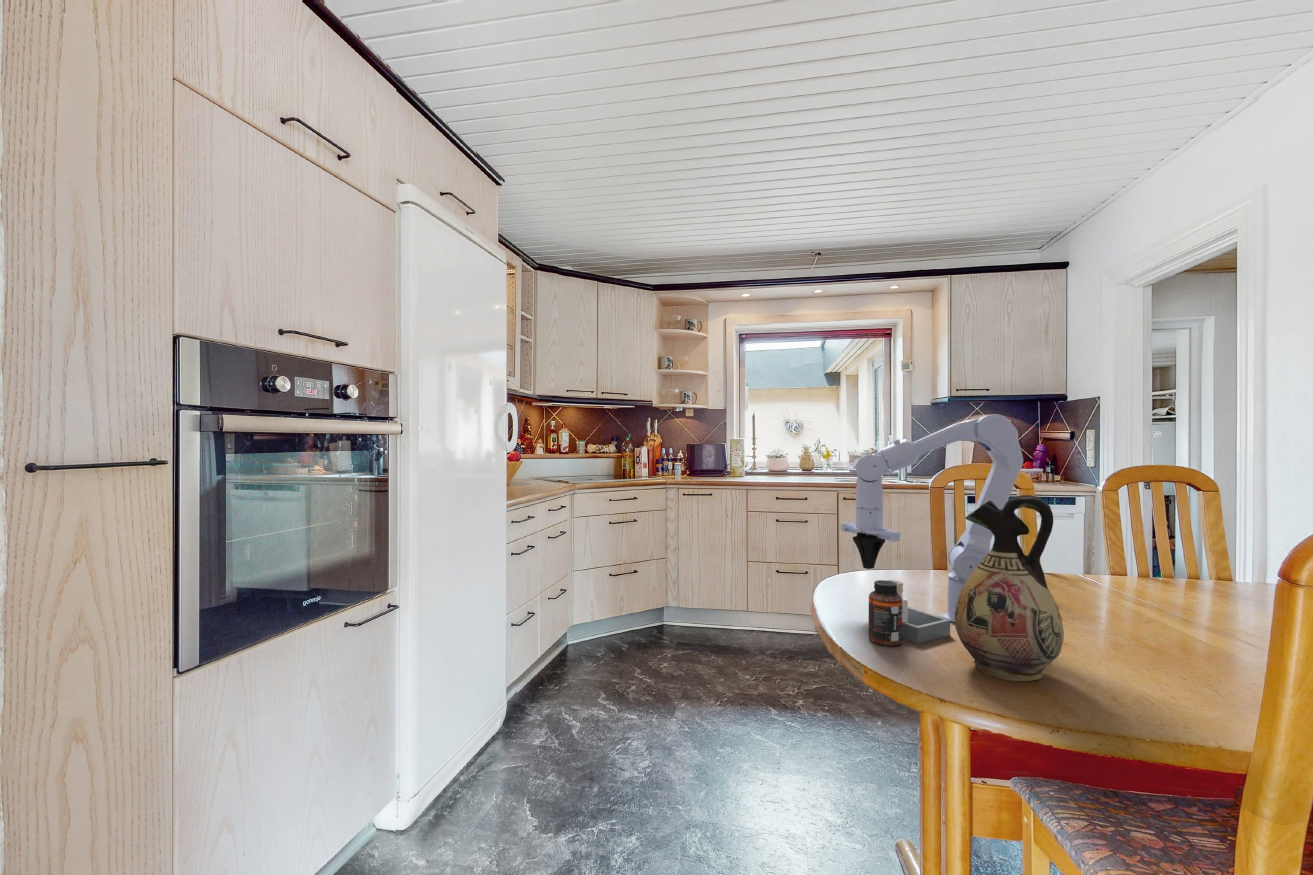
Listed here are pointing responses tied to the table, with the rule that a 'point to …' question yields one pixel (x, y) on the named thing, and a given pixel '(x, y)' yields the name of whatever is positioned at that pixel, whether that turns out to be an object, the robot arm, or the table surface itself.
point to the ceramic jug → (1010, 598)
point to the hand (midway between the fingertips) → (868, 568)
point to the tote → (924, 626)
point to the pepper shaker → (904, 601)
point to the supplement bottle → (885, 614)
